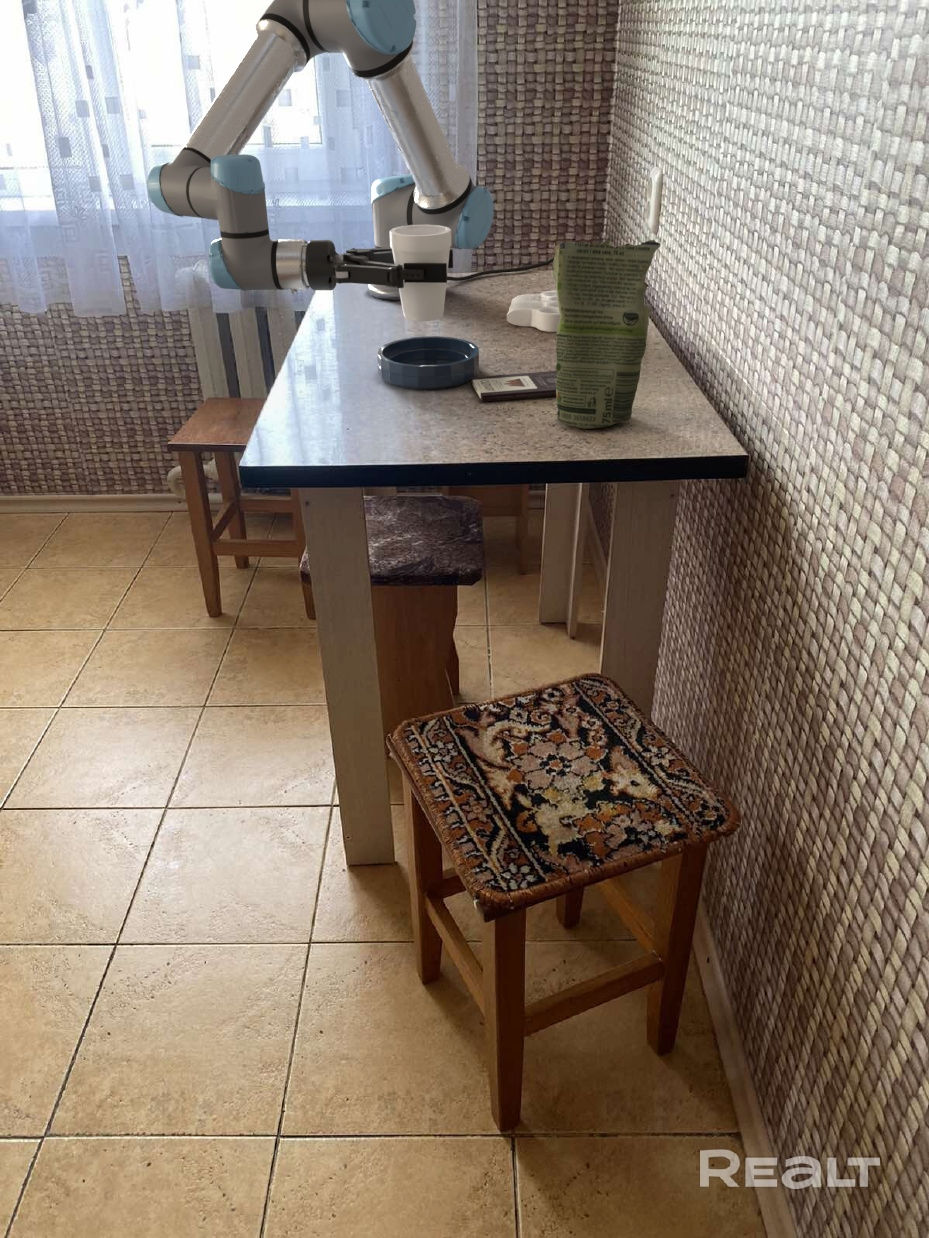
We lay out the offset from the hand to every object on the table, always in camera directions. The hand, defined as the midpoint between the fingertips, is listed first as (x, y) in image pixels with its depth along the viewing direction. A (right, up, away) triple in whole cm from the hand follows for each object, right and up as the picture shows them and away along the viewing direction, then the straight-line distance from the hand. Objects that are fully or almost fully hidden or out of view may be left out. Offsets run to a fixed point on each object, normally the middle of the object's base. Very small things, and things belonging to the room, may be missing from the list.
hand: (449, 265), depth 147 cm
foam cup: (-4, -7, +5) cm, 9 cm away
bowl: (-4, -15, +9) cm, 18 cm away
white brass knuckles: (+18, +3, +37) cm, 41 cm away
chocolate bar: (+13, -19, +2) cm, 23 cm away
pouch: (+22, -26, -9) cm, 35 cm away
